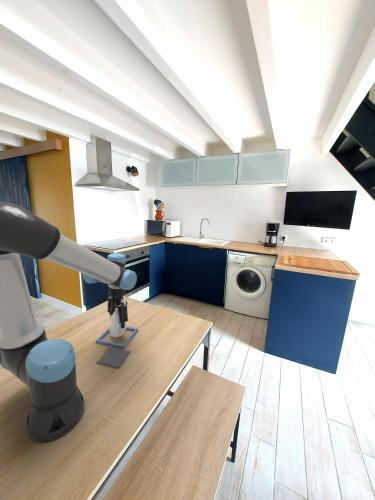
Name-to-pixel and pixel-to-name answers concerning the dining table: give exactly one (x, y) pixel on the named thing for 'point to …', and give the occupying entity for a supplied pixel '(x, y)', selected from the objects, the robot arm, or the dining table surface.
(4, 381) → the dining table surface
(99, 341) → the cradle
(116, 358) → the mat
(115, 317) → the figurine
